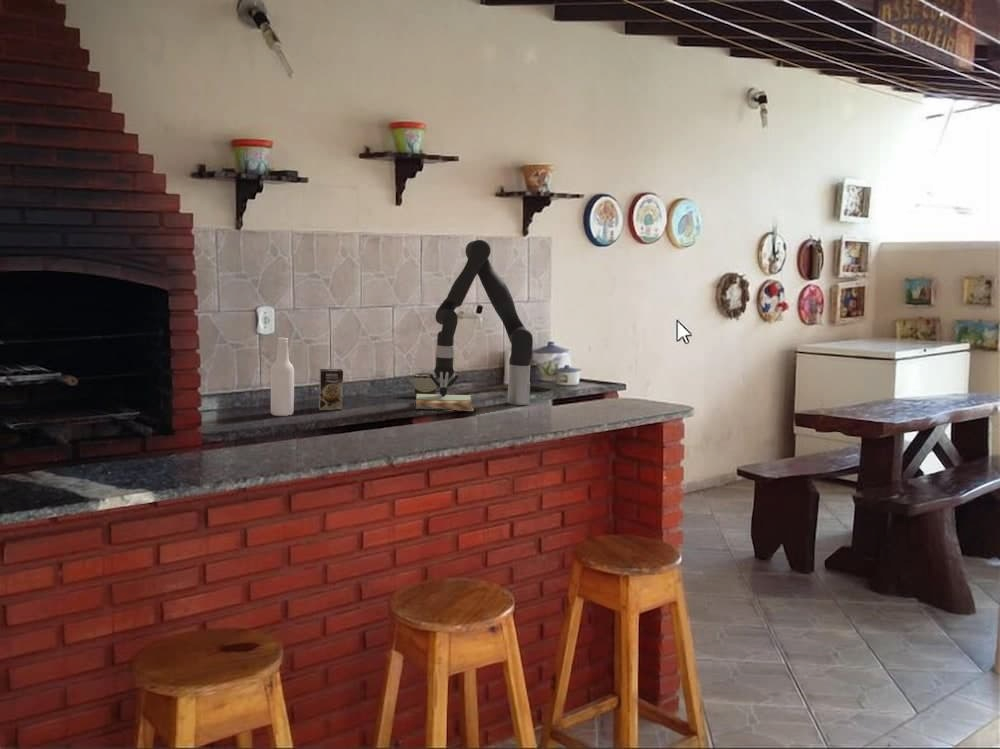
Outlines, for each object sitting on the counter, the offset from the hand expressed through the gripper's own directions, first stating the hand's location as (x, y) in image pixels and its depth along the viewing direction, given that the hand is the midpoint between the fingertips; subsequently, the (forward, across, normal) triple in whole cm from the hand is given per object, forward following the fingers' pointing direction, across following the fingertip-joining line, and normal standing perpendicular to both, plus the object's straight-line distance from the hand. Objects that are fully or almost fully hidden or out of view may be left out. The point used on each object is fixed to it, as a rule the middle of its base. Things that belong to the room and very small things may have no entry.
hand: (443, 395), depth 403 cm
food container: (+4, +7, -19) cm, 20 cm away
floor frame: (+4, 0, +5) cm, 6 cm away
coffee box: (+4, +46, +16) cm, 49 cm away
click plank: (+3, 0, +2) cm, 3 cm away
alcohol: (+4, +64, +30) cm, 70 cm away
